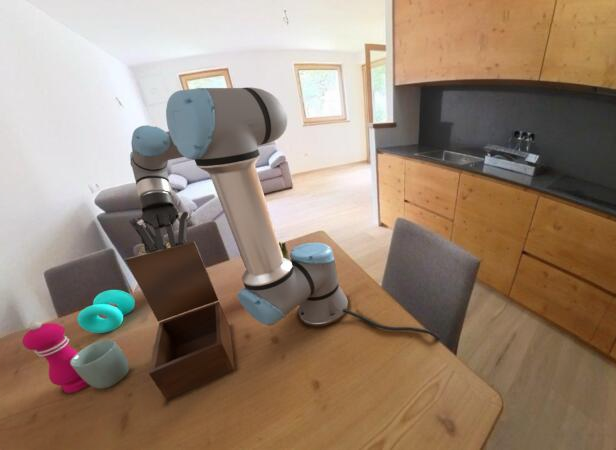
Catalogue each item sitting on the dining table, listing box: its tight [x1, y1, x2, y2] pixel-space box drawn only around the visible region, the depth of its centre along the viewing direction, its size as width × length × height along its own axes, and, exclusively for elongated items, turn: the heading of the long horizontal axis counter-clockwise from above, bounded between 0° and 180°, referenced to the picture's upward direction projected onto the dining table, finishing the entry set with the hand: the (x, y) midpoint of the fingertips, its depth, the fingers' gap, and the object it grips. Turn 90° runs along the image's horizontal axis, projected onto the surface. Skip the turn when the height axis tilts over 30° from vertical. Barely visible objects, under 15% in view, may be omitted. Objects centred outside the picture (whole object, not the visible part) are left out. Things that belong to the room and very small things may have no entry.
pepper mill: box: [21, 321, 90, 394], centre depth 66 cm, size 7×7×20 cm
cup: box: [70, 338, 130, 390], centre depth 68 cm, size 8×8×10 cm
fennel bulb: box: [278, 241, 291, 260], centre depth 109 cm, size 6×5×12 cm
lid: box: [125, 240, 219, 322], centre depth 73 cm, size 19×14×1 cm
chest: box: [148, 301, 235, 402], centre depth 72 cm, size 18×14×10 cm
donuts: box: [77, 289, 136, 334], centre depth 86 cm, size 10×10×10 cm
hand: (174, 272), depth 75 cm, fingers closed
